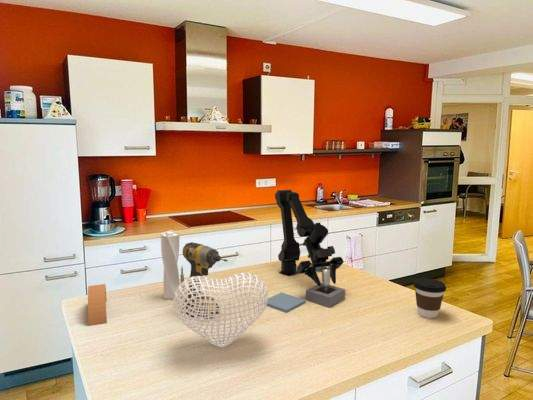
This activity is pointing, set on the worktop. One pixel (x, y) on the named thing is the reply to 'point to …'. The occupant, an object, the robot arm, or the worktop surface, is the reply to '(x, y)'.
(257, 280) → the heart
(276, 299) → the mat
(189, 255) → the cordless drill
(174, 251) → the skyscraper
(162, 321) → the worktop surface
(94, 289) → the orange rectangular block
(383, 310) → the worktop surface
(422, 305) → the coffee cup
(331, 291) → the socket block
